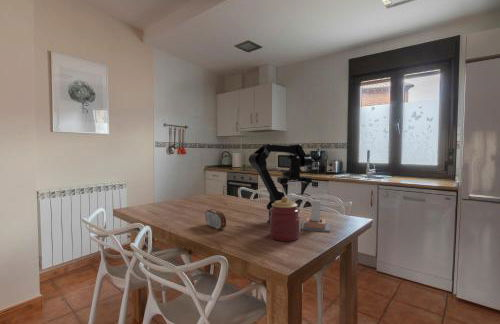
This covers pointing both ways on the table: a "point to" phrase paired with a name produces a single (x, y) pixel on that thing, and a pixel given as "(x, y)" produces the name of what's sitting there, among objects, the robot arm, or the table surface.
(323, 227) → the pocket board
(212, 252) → the table surface
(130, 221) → the table surface
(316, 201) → the steel square bar
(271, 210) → the canister
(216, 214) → the tin
